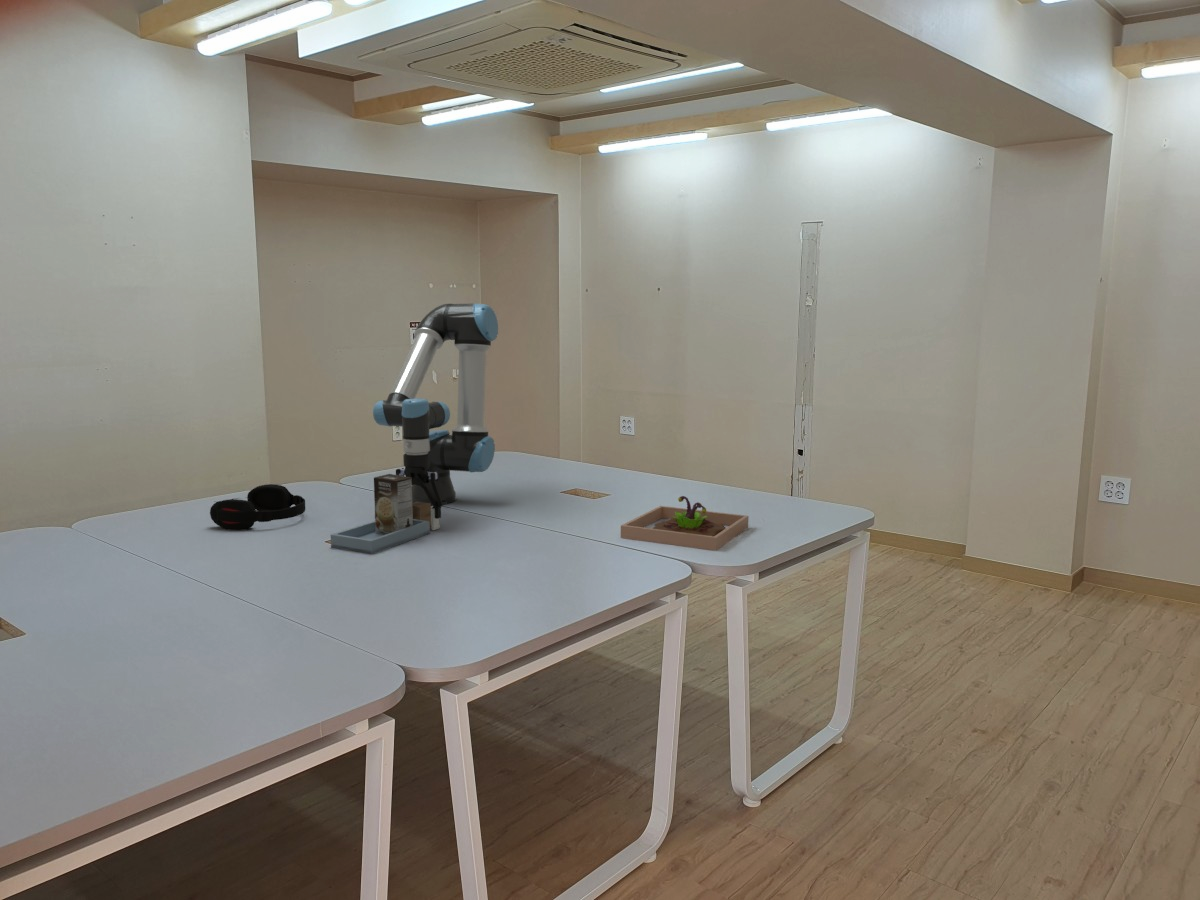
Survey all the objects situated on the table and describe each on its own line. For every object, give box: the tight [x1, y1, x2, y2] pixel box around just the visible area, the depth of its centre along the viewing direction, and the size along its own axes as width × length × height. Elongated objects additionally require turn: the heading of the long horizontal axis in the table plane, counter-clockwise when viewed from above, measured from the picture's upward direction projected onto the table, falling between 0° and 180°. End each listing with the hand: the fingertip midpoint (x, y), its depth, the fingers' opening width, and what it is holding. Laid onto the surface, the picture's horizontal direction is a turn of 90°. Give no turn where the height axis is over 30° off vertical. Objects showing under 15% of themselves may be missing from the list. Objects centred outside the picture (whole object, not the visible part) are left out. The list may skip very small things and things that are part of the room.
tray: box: [330, 519, 431, 555], centre depth 240 cm, size 14×24×4 cm, turn 153°
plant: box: [651, 495, 726, 536], centre depth 247 cm, size 20×20×11 cm
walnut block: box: [412, 502, 432, 528], centre depth 253 cm, size 5×5×7 cm
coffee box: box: [373, 473, 413, 535], centre depth 243 cm, size 9×6×16 cm
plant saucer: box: [620, 505, 749, 551], centre depth 249 cm, size 28×28×4 cm
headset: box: [209, 483, 306, 531], centre depth 263 cm, size 28×26×9 cm
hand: (418, 526), depth 254 cm, fingers open, 11 cm apart
